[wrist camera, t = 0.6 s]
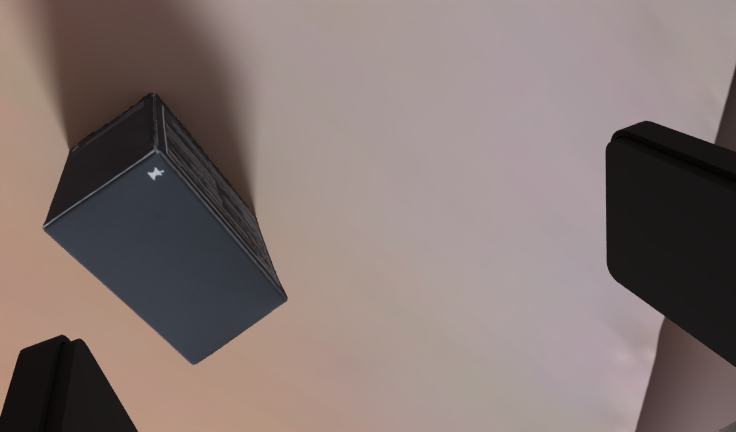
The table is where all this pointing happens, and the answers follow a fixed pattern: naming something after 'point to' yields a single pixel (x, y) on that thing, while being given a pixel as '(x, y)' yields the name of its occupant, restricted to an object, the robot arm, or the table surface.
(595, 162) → the table surface
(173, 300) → the small box
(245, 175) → the table surface
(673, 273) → the robot arm
